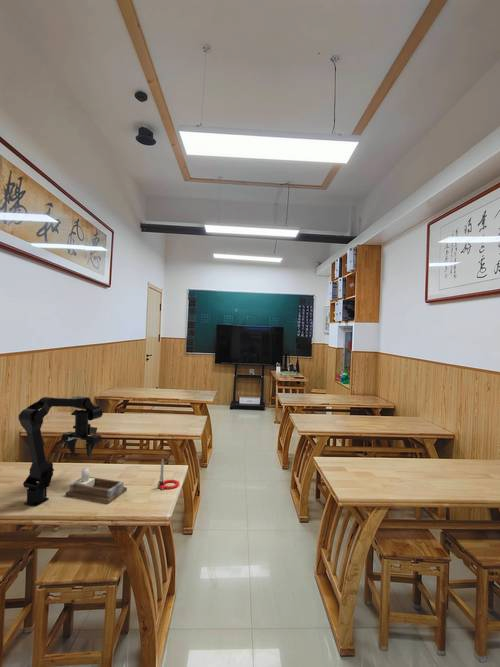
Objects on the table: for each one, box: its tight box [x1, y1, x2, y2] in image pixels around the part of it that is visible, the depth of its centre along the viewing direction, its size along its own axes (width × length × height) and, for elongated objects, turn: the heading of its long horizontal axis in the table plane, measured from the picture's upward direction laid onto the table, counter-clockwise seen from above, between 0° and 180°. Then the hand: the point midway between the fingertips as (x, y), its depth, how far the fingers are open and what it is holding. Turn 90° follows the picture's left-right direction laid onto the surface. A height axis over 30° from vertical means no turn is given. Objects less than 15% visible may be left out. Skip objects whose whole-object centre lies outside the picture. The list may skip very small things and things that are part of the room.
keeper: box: [75, 467, 95, 487], centre depth 147 cm, size 6×5×8 cm
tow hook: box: [157, 458, 180, 491], centre depth 154 cm, size 8×13×9 cm
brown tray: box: [65, 476, 128, 505], centre depth 145 cm, size 12×22×4 cm, turn 75°
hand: (81, 455), depth 158 cm, fingers open, 9 cm apart
